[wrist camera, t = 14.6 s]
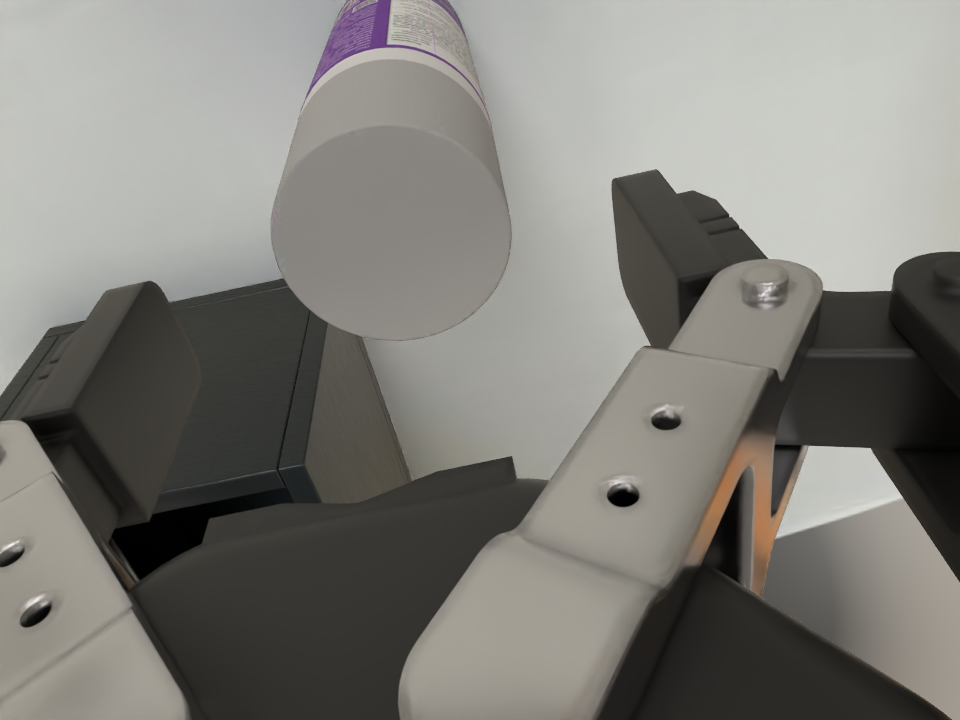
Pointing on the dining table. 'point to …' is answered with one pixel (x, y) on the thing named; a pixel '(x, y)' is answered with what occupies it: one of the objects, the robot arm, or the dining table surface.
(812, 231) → the dining table surface
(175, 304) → the bin
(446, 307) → the container
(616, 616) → the robot arm
